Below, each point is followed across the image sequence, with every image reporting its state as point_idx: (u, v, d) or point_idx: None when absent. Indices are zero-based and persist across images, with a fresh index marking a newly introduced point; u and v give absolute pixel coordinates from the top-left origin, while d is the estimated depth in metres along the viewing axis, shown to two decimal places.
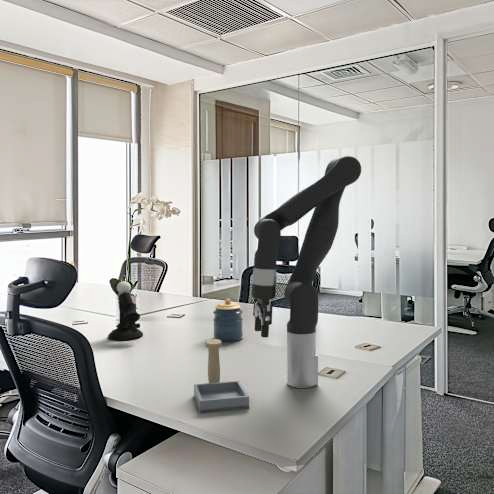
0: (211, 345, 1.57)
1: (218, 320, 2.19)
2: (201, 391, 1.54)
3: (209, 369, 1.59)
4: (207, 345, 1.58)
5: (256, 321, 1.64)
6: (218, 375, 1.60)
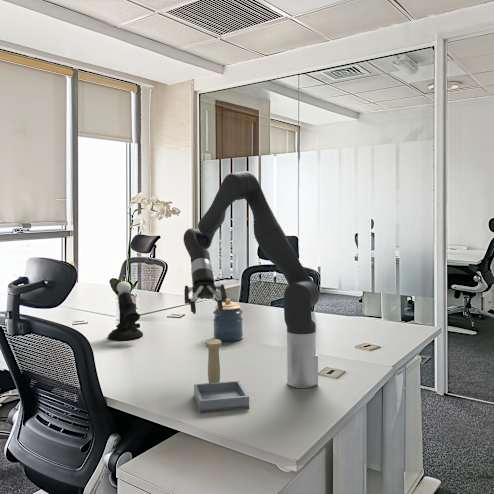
0: (211, 345, 1.57)
1: (218, 320, 2.19)
2: (201, 391, 1.54)
3: (209, 369, 1.59)
4: (207, 345, 1.58)
5: (217, 305, 1.74)
6: (218, 375, 1.60)
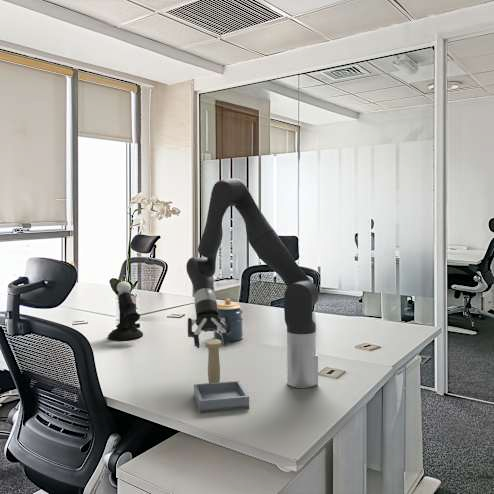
0: (211, 345, 1.57)
1: None
2: (201, 391, 1.54)
3: (209, 369, 1.59)
4: (207, 345, 1.58)
5: None
6: (218, 375, 1.60)
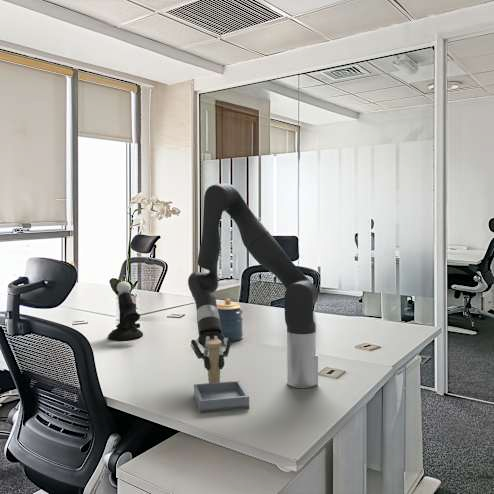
0: (211, 345, 1.57)
1: None
2: (201, 391, 1.54)
3: (209, 369, 1.59)
4: (207, 345, 1.58)
5: None
6: (218, 375, 1.60)
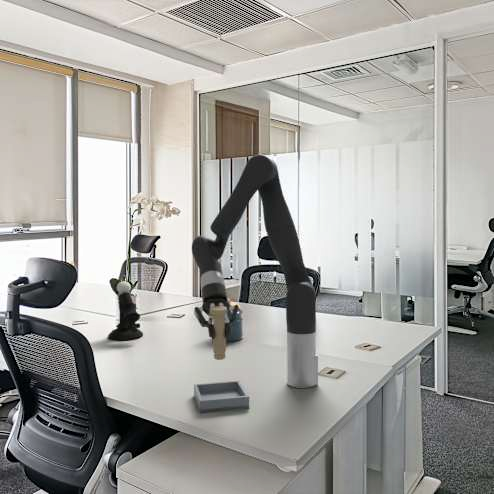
0: (216, 311, 1.45)
1: None
2: (201, 391, 1.54)
3: (214, 338, 1.47)
4: (212, 312, 1.46)
5: None
6: (224, 344, 1.48)
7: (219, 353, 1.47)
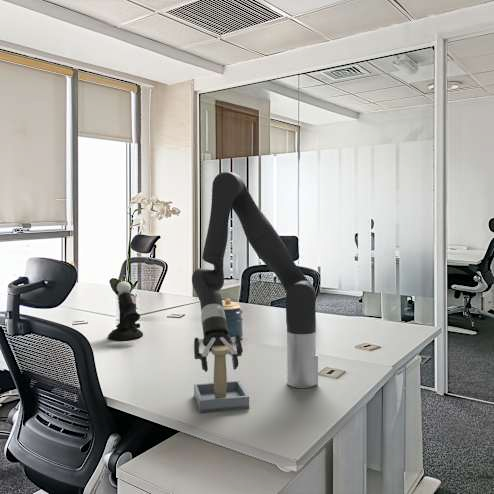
0: (217, 351, 1.46)
1: None
2: (201, 391, 1.54)
3: (215, 377, 1.48)
4: (213, 351, 1.47)
5: (232, 359, 1.51)
6: (225, 384, 1.48)
7: (220, 393, 1.48)
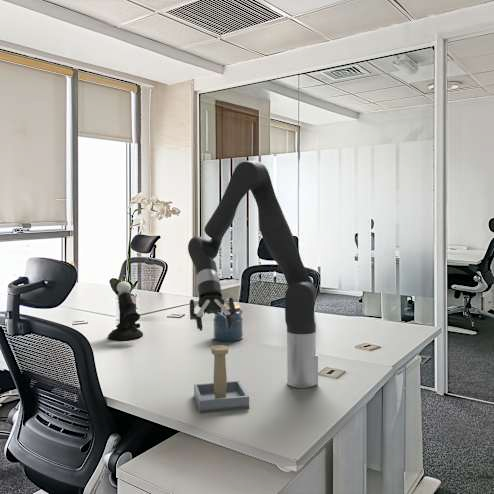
0: (217, 351, 1.46)
1: (218, 320, 2.19)
2: (201, 391, 1.54)
3: (215, 377, 1.48)
4: (213, 351, 1.47)
5: None
6: (224, 384, 1.48)
7: (220, 393, 1.48)
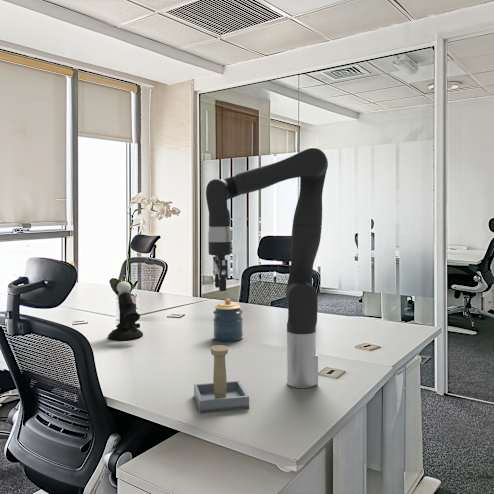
0: (217, 352, 1.45)
1: (218, 320, 2.19)
2: (201, 391, 1.54)
3: (215, 378, 1.48)
4: (212, 352, 1.47)
5: (216, 278, 1.72)
6: (224, 384, 1.48)
7: (220, 394, 1.48)
